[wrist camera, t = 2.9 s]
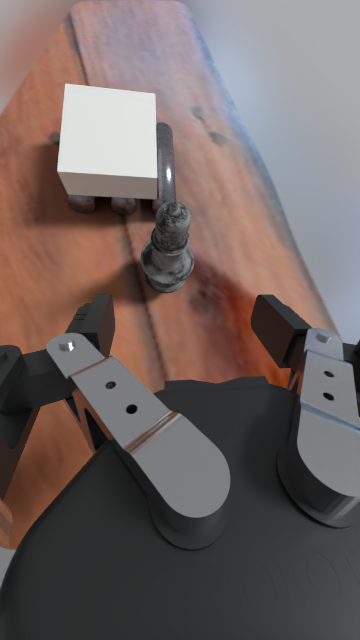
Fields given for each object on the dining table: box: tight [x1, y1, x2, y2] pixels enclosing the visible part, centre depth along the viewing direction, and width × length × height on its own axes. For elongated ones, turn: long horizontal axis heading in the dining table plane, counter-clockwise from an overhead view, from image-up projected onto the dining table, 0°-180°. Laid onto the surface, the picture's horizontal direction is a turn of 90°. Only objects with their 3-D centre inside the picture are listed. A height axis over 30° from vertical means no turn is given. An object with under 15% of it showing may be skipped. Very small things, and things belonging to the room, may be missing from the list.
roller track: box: [68, 123, 176, 215], centre depth 29 cm, size 13×12×3 cm
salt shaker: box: [141, 201, 194, 293], centre depth 22 cm, size 6×6×12 cm
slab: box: [57, 84, 157, 199], centre depth 26 cm, size 10×12×3 cm
